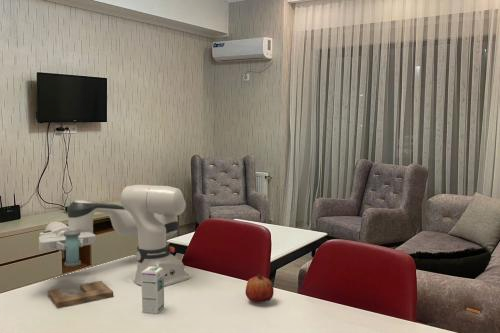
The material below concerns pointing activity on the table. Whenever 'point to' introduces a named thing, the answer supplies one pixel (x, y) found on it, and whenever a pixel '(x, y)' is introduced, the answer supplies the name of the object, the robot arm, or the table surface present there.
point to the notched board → (81, 295)
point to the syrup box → (152, 290)
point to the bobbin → (72, 248)
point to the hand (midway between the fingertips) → (72, 246)
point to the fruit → (259, 289)
